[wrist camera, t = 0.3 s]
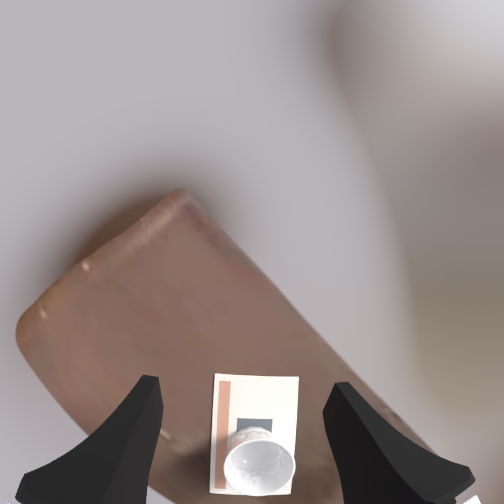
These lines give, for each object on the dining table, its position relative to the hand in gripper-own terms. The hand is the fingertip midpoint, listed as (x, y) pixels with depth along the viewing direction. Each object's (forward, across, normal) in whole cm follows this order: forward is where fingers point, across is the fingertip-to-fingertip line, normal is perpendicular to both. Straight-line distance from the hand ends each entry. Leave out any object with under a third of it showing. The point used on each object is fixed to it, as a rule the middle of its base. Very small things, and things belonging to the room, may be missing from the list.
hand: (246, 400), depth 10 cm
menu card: (+14, -4, +27) cm, 31 cm away
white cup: (+14, -4, +28) cm, 31 cm away
